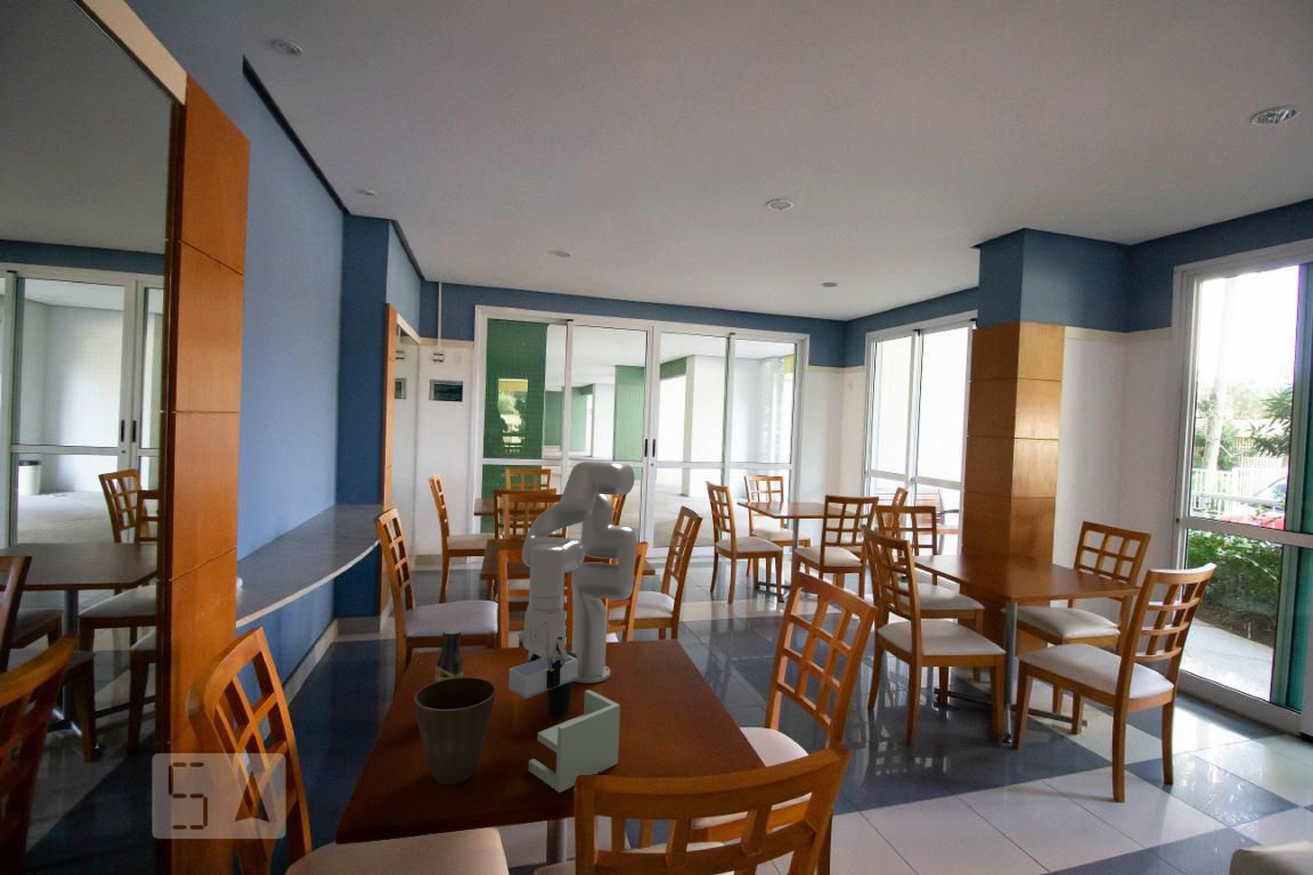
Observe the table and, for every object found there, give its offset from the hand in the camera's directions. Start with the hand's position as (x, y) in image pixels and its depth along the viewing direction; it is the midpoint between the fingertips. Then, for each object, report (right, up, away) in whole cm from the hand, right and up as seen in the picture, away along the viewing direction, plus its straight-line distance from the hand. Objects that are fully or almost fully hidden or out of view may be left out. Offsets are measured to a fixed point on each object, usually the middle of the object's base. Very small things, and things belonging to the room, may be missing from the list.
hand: (544, 681), depth 129 cm
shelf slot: (+8, -13, -10) cm, 19 cm away
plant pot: (-15, -12, -15) cm, 24 cm away
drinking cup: (+1, -13, +13) cm, 18 cm away
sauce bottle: (-25, -12, +10) cm, 29 cm away
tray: (0, -1, 0) cm, 1 cm away
